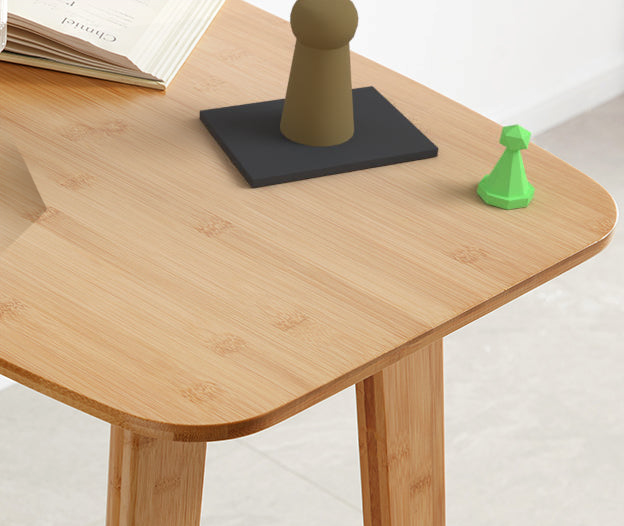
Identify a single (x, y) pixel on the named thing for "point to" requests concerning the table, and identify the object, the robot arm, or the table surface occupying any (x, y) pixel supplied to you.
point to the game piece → (508, 173)
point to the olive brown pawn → (320, 74)
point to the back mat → (310, 159)
